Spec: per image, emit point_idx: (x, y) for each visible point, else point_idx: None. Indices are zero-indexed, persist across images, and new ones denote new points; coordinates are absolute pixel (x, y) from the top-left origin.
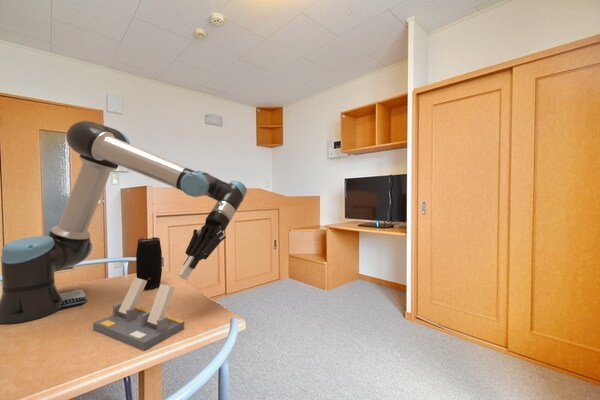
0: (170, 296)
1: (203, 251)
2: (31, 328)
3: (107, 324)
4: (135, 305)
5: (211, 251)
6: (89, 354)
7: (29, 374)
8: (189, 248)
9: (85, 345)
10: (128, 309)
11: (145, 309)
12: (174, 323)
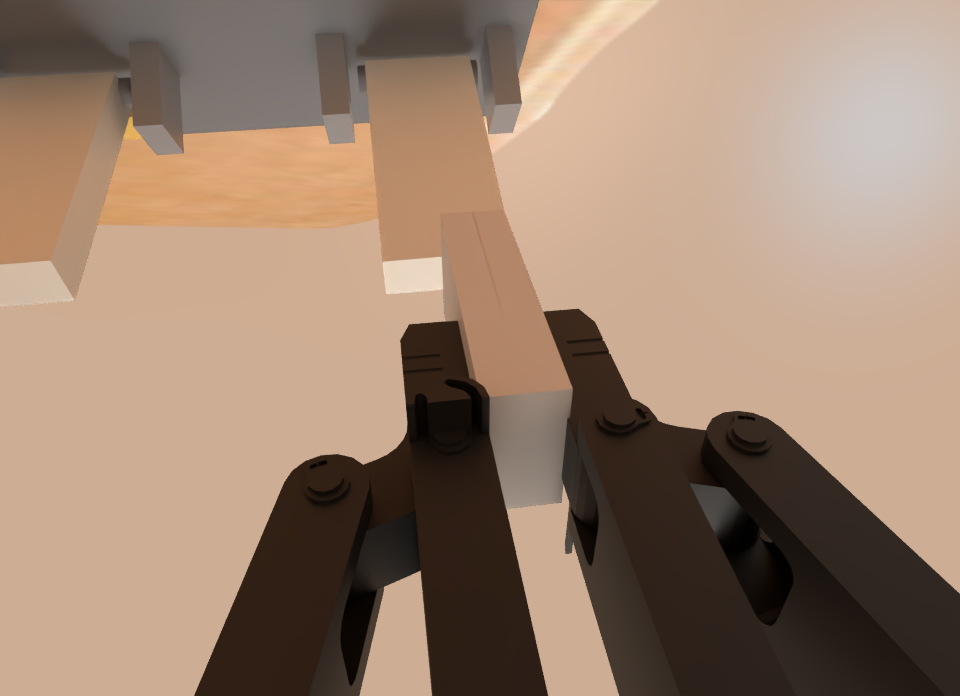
0: (497, 197)
1: (752, 584)
2: None
3: (139, 134)
4: (103, 116)
5: (910, 578)
6: (309, 149)
7: (279, 211)
8: (355, 663)
9: (208, 142)
10: (159, 149)
11: None
12: None
